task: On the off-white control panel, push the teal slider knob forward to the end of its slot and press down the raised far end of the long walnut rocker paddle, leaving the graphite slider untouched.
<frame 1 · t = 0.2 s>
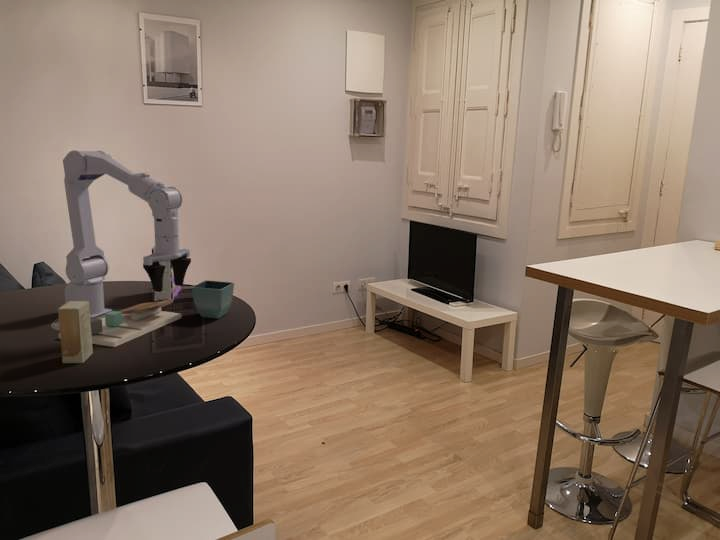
hand: (168, 288, 149), 10 cm above the table, fingers open, 7 cm apart
candy box: (168, 296, 181), on the table
flower pot: (214, 316, 160), on the table
panel: (124, 327, 148), on the table
teal slider: (113, 318, 145), point 3 cm above the table, slide at 0.0 cm
walnut rocker: (145, 307, 153), point 4 cm above the table, hinge at -12.0°
skincare box: (77, 359, 126), on the table
graphite slider: (93, 326, 138), point 3 cm above the table, slide at 0.0 cm
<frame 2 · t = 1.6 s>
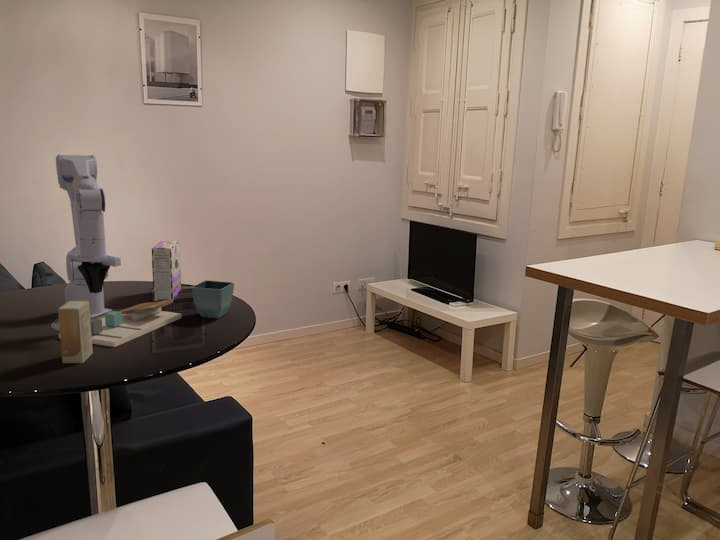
hand: (95, 292, 145), 9 cm above the table, fingers closed
nothing on the table moved.
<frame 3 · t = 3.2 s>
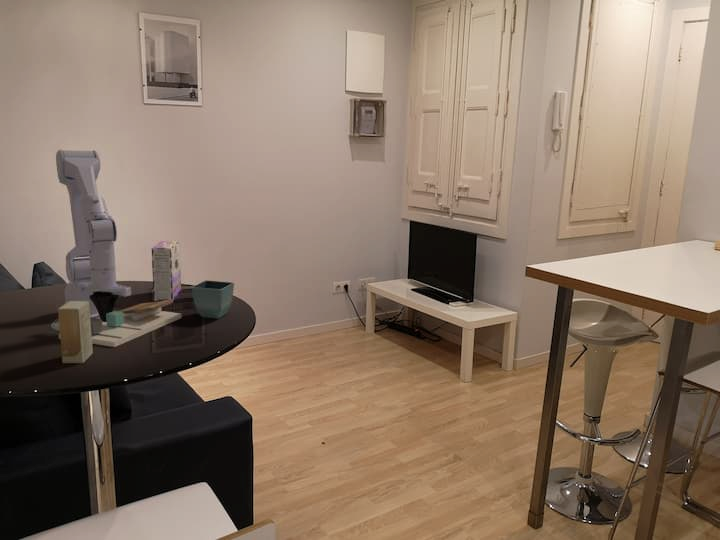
hand: (106, 321, 145), 2 cm above the table, fingers closed
teal slider: (115, 318, 145), point 3 cm above the table, slide at 0.4 cm, touching gripper
everything else where it was.
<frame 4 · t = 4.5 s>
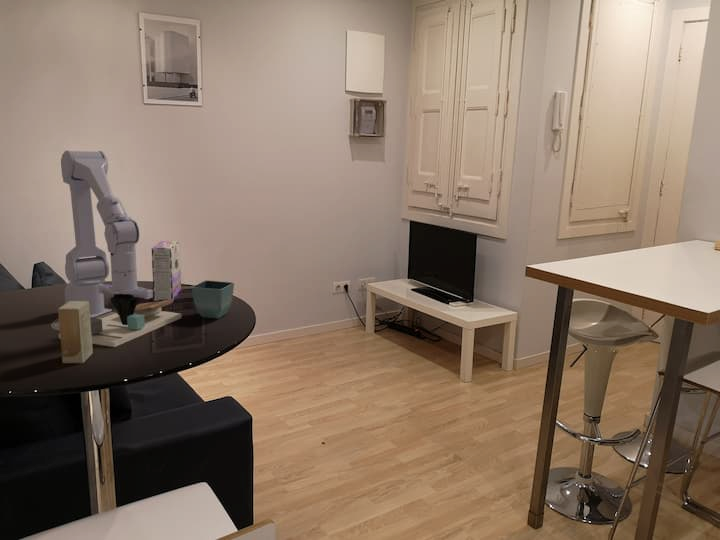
hand: (126, 323, 144), 2 cm above the table, fingers closed
teal slider: (136, 321, 143), point 3 cm above the table, slide at 6.6 cm, touching gripper
everything else where it was.
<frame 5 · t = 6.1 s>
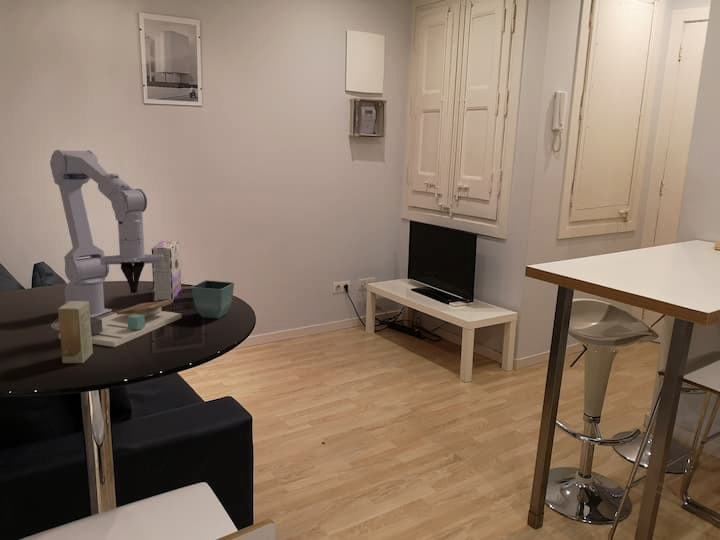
hand: (134, 292, 146), 9 cm above the table, fingers closed
teal slider: (136, 321, 143), point 3 cm above the table, slide at 6.7 cm
everything else where it was.
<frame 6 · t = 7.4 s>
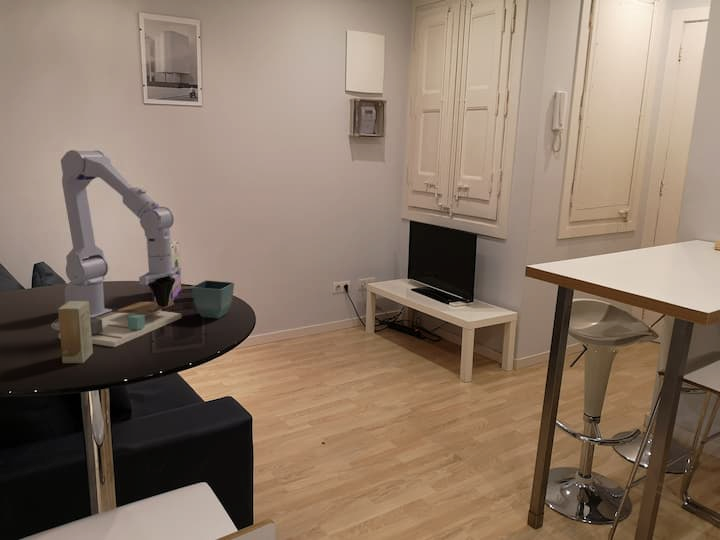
hand: (162, 306, 152), 5 cm above the table, fingers closed, pressing on walnut rocker
walnut rocker: (145, 306, 153), point 4 cm above the table, hinge at -6.2°, touching gripper
everything else where it was.
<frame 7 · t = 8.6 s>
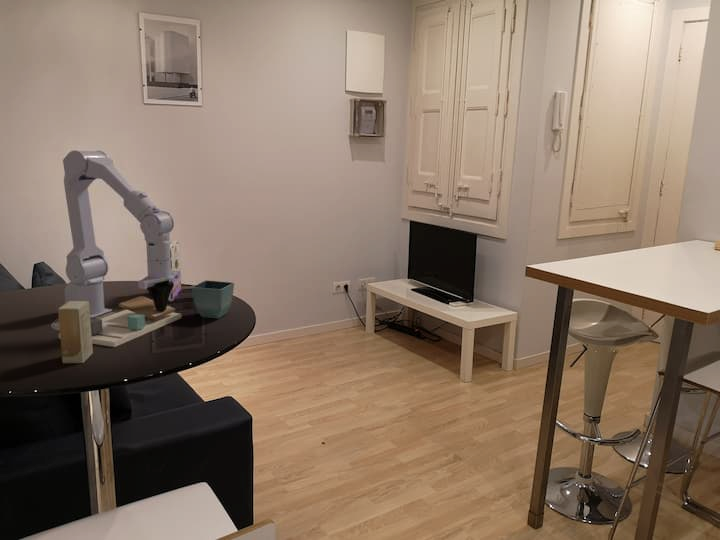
hand: (161, 310, 152), 3 cm above the table, fingers closed
walnut rocker: (147, 307, 153), point 4 cm above the table, hinge at 13.1°
everything else where it was.
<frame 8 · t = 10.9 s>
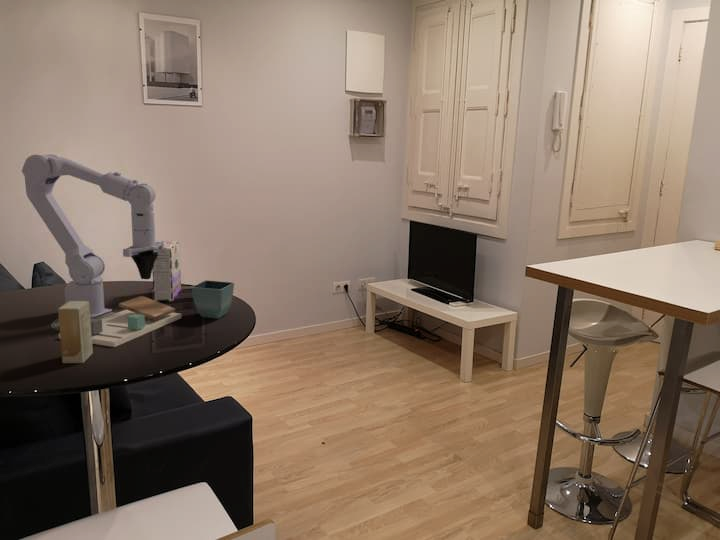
hand: (145, 278, 159), 10 cm above the table, fingers closed
nothing on the table moved.
at the end: teal slider slide at 6.7 cm; walnut rocker at +13° (first picture: -12°); graphite slider slide at 0.0 cm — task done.
